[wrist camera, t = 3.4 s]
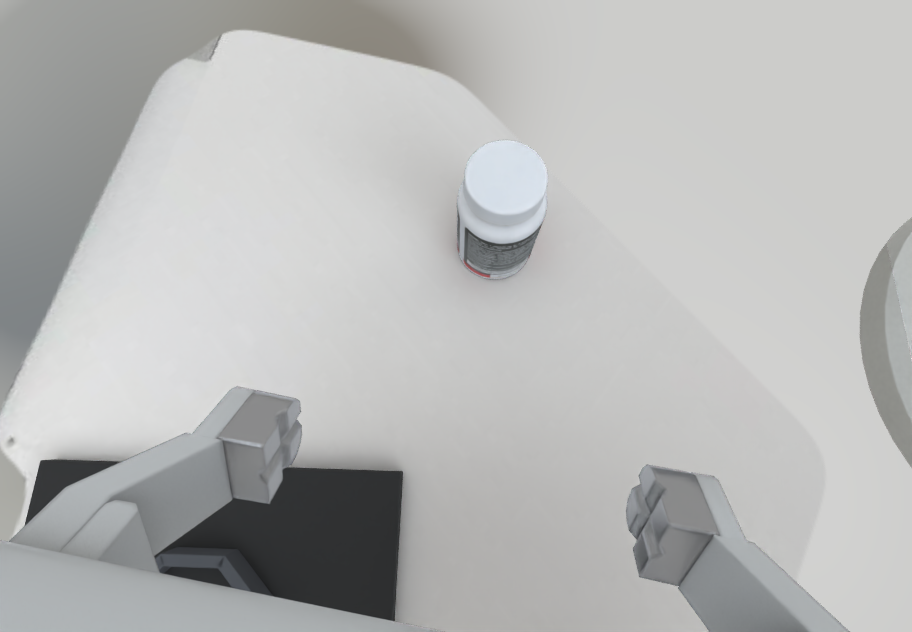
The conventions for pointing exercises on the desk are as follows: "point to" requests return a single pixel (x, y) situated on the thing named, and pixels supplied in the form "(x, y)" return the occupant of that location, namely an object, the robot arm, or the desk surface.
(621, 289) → the desk surface
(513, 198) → the pill bottle
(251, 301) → the desk surface
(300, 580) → the socket pad
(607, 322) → the desk surface
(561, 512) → the desk surface
